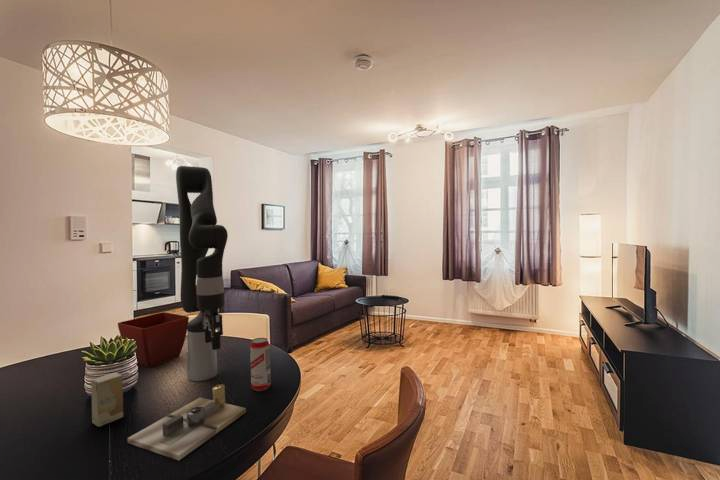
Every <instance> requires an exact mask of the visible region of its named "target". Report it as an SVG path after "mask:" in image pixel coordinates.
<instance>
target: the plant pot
mask: <svg viewBox="0 0 720 480" xmlns="http://www.w3.org/2000/svg"><path fill="white" fill-rule="evenodd" d="M189 320H190V317H189V315H188V316H187V315H183V314H182V315H181V314H177V313H171V312H157V313H154V314H151V315H150V314H148V315H146V316H141V317H138V318H133V319H128V320H123V321H119V322H117V328H118V331H119V335H120V337H121V339H125V338H126V337H127V338H128V339H134V340H135V341H136V345H137V350H136V356H137V361H138V364H137V365H140V366H144V367H146V368H152V367H154V366H155V367H156V366H158V365H160V364H163V363H165V362H168V361H171V360H174V359H177V358H179V357H180V356H181V353H182V350H183V348H184V344H185V340H186V337H187V334H188V333H187V324H188V323H189V322H190V321H189Z"/></svg>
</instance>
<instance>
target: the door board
mask: <svg viewBox="0 0 720 480" xmlns="http://www.w3.org/2000/svg"><path fill="white" fill-rule="evenodd" d="M212 401H213V399H209V398H204V397H198V398H197V399H194V400H193V401H191V402H189V403H188V404H185V405H184V406H182V407H181V408H179V409H177V410H175V411H173V412H172V413H167V414H166V415H165V416H164V417H163V418H161V419H158V420H157V421H155V422H154V423H152V424H150V425H149V426H147V427H145V428H143V429H141V430H139V431H138V432H136V433H134V434H132V435H130V436H129V437H127V438H126V439H127V443H128V444H130V445H131V446H132V445H133V446H135V447H137V448H142V449H144V450H148V451H150V452H153V453H155V454H158V455H162V456H164V457H167V458H170V459H173V460H177V461H178V462H179V461H181V460H182V459H184V457H186V456H188V455H189V454H190V453H191V452H193V451H194V450H196V449H197V448H198V447H200V446H201V445H203V444H204V443H205V442H207V441H208V440H210V439H211V438H213V437H214V436H215V435H216V434H218V433H220V432H221V431H222V430H224V429H225V428H226V427H228V426H229V425H230V424H232V423H233V422H235V421H236V420H237V419H239V418H240V417H241V416H244V415H245V414H246V413H247V408H246V407H242V406H240V405H234V404H230V403H226V402H225V406H224V407H223V408H220V409H218V410H217V411H215V412H214V413H212V414H211V415H209V416H207V417H206V418H205V420H204V421H203V422H202V423H200V424H198V425H188V424H187V411H188V410H190V409H192V408H195V407H204V406H206V405H207V404H209V403H211V402H212Z"/></svg>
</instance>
